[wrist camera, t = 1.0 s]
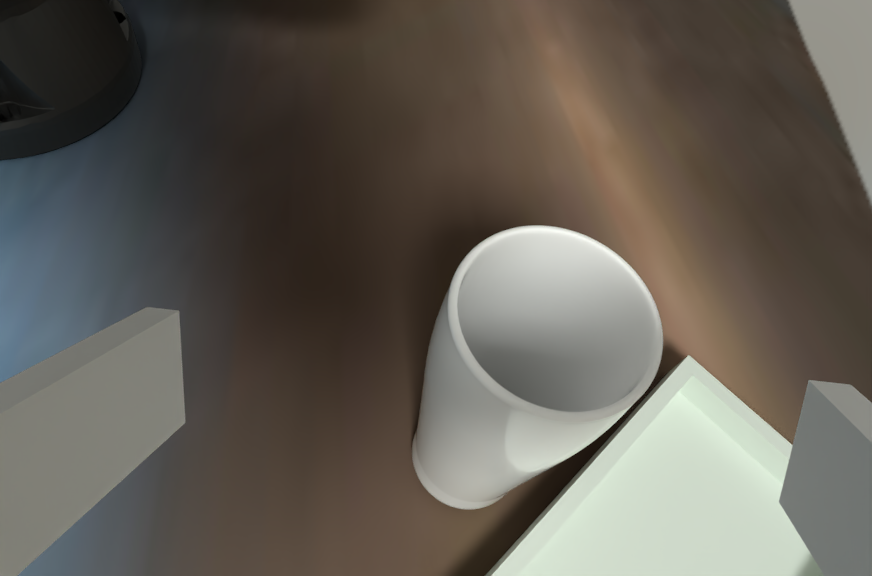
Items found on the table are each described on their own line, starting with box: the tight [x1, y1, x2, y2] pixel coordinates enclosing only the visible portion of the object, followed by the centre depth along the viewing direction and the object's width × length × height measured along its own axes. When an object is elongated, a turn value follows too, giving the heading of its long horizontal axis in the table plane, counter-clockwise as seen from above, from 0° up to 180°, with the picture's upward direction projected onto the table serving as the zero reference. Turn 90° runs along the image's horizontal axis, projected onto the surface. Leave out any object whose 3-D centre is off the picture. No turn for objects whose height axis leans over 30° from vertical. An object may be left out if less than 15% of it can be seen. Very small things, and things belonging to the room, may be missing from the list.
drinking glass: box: [412, 225, 663, 510], centre depth 25 cm, size 7×7×15 cm
